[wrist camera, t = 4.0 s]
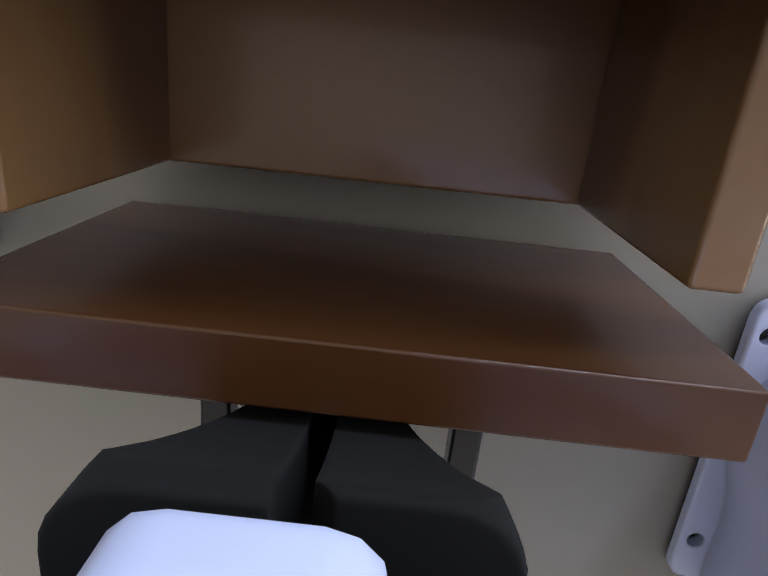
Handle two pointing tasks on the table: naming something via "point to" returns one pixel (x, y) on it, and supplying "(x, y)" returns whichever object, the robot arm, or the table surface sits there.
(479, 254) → the drawer
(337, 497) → the robot arm
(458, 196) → the table surface
